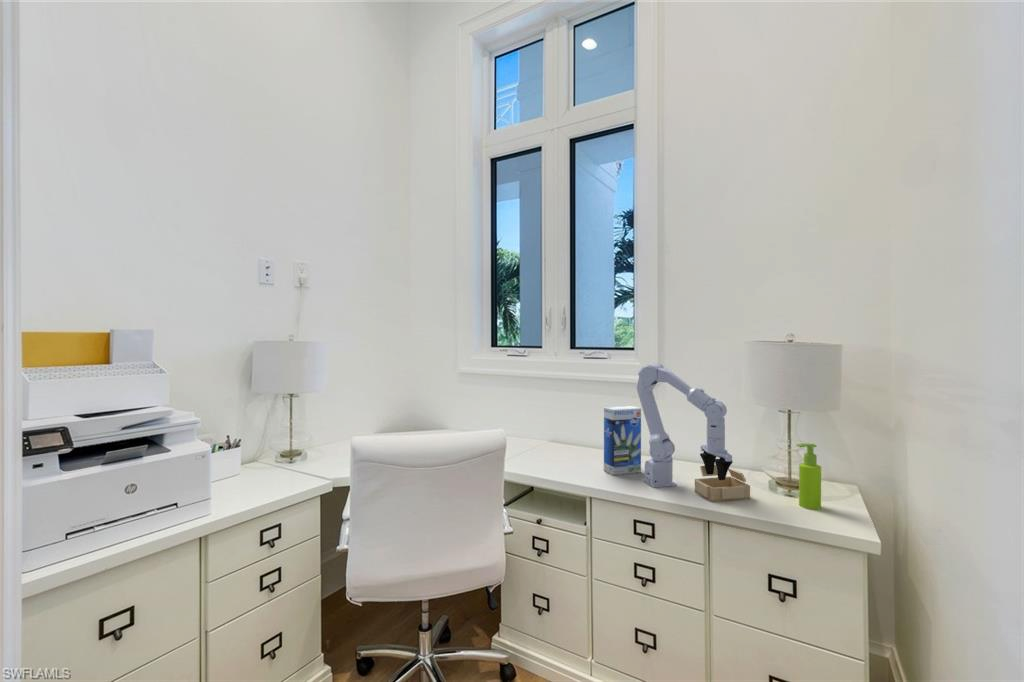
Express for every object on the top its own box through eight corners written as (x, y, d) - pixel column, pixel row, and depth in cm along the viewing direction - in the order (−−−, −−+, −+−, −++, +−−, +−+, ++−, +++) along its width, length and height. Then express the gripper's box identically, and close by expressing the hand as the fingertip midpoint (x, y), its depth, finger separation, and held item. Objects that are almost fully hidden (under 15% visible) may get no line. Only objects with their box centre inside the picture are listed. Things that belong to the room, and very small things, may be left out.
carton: (711, 503, 150) (711, 489, 150) (692, 492, 160) (692, 478, 160) (752, 500, 152) (752, 486, 152) (730, 489, 163) (730, 476, 163)
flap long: (703, 476, 161) (701, 465, 162) (702, 476, 161) (700, 466, 163) (723, 474, 162) (721, 464, 163) (722, 475, 163) (719, 464, 164)
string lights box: (612, 475, 179) (612, 409, 179) (602, 470, 186) (602, 406, 186) (641, 472, 183) (641, 407, 183) (631, 467, 191) (631, 405, 190)
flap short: (744, 482, 155) (740, 473, 155) (731, 476, 161) (727, 468, 161) (746, 481, 155) (741, 472, 155) (733, 475, 162) (729, 466, 161)
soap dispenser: (791, 502, 150) (792, 441, 150) (813, 503, 150) (813, 441, 149) (802, 509, 144) (803, 446, 144) (825, 509, 144) (825, 446, 143)
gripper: (740, 441, 151) (740, 482, 152) (713, 432, 166) (713, 470, 166) (721, 442, 150) (721, 484, 150) (695, 433, 164) (695, 471, 164)
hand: (715, 476), depth 158 cm, fingers open, 6 cm apart
